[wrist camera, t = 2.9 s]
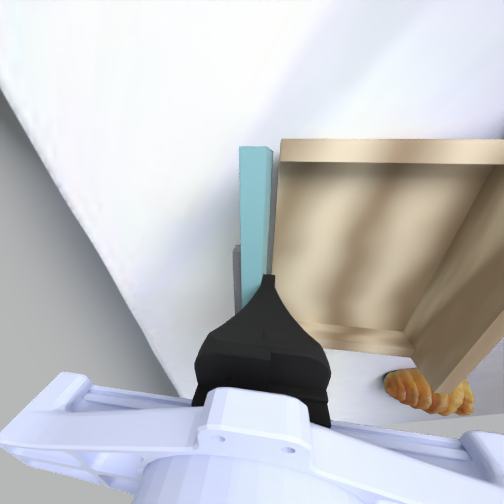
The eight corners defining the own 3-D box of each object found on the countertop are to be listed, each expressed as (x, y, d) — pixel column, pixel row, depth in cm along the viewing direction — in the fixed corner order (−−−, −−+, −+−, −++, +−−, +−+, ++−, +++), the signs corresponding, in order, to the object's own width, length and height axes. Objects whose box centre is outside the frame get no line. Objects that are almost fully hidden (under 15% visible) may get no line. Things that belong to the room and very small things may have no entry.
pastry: (376, 388, 29) (389, 418, 26) (386, 360, 26) (402, 390, 23) (443, 393, 28) (466, 426, 24) (462, 365, 25) (491, 397, 22)
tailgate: (273, 151, 13) (266, 146, 8) (263, 321, 21) (257, 377, 15) (248, 151, 13) (225, 146, 8) (247, 319, 21) (236, 374, 16)
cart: (477, 145, 14) (690, 132, 7) (393, 317, 22) (450, 394, 15) (280, 144, 16) (283, 132, 8) (269, 306, 24) (265, 371, 17)
